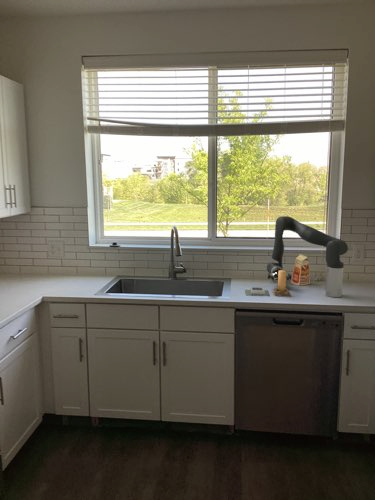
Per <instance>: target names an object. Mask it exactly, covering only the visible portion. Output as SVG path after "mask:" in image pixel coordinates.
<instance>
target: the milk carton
mask: <svg viewBox="0 0 375 500" xmlns="http://www.w3.org/2000/svg"><path fill="white" fill-rule="evenodd" d="M291 275H292V276H291V279H290V280H291V281H290V283H291V284H294V285H296V286H305V285H306V286H307V285H309V284H310V281H311V279H310V263H309V259H308V256H306V255H303V254H302V253H299V255H298V256H296V258H295V262H294V267H293V270H292V274H291Z"/></svg>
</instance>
